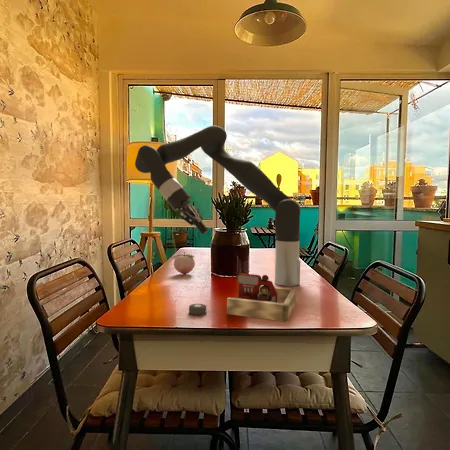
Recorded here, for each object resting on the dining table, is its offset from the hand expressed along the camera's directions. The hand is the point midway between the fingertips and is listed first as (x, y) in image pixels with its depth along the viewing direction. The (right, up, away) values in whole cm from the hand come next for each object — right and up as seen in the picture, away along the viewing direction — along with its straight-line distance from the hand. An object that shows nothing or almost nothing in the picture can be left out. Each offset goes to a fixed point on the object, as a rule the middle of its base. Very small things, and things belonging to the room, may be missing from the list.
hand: (205, 232), depth 116 cm
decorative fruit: (-11, -20, +32) cm, 39 cm away
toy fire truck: (+16, -23, -13) cm, 31 cm away
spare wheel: (-1, -23, -18) cm, 29 cm away
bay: (+18, -23, -13) cm, 32 cm away
